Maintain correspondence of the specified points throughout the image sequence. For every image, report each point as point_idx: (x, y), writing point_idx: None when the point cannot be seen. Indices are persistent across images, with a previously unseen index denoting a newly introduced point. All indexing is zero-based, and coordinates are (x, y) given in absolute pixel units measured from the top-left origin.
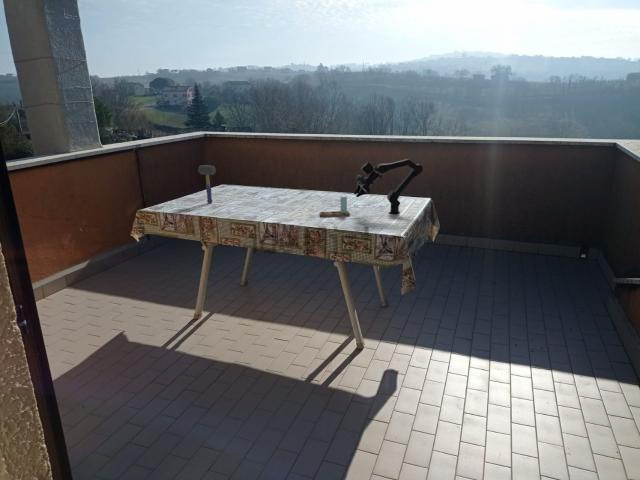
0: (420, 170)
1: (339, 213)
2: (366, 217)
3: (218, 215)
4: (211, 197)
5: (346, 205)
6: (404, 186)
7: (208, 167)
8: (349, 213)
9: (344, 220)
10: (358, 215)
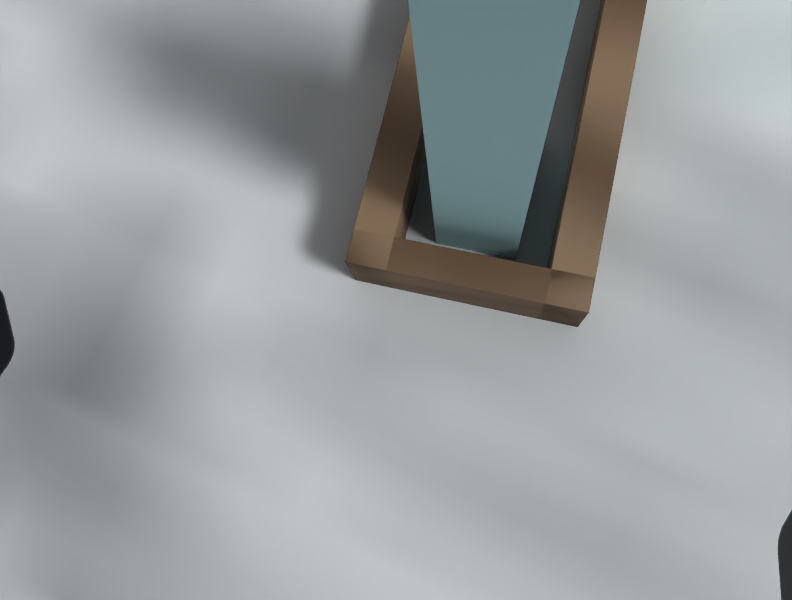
0: None
1: (408, 44)
2: (78, 579)
3: None
4: None
5: (426, 134)
6: None
7: None
8: (347, 258)
9: (87, 71)
10: (320, 483)
